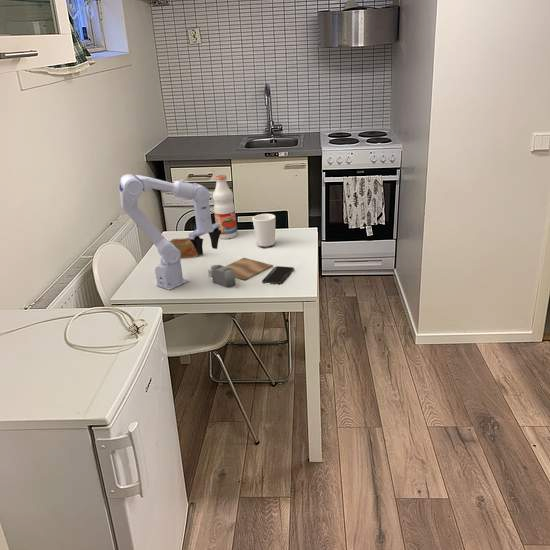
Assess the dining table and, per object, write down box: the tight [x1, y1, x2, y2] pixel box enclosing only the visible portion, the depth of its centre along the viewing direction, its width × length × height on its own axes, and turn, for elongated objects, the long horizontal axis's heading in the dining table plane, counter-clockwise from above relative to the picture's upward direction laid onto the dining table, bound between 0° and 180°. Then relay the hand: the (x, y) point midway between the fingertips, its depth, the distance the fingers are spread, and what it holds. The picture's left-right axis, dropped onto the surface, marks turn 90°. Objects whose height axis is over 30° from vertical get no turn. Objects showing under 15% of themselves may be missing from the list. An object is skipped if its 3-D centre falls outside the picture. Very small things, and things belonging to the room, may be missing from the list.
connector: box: [207, 264, 236, 289], centre depth 210 cm, size 4×12×6 cm, turn 49°
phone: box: [261, 265, 295, 286], centre depth 213 cm, size 8×1×15 cm
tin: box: [169, 237, 199, 260], centre depth 238 cm, size 15×3×8 cm, turn 92°
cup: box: [252, 213, 277, 249], centre depth 243 cm, size 10×10×13 cm
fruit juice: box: [212, 174, 238, 240], centre depth 255 cm, size 9×9×28 cm
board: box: [225, 257, 274, 281], centre depth 222 cm, size 16×16×1 cm
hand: (207, 251), depth 216 cm, fingers open, 7 cm apart
